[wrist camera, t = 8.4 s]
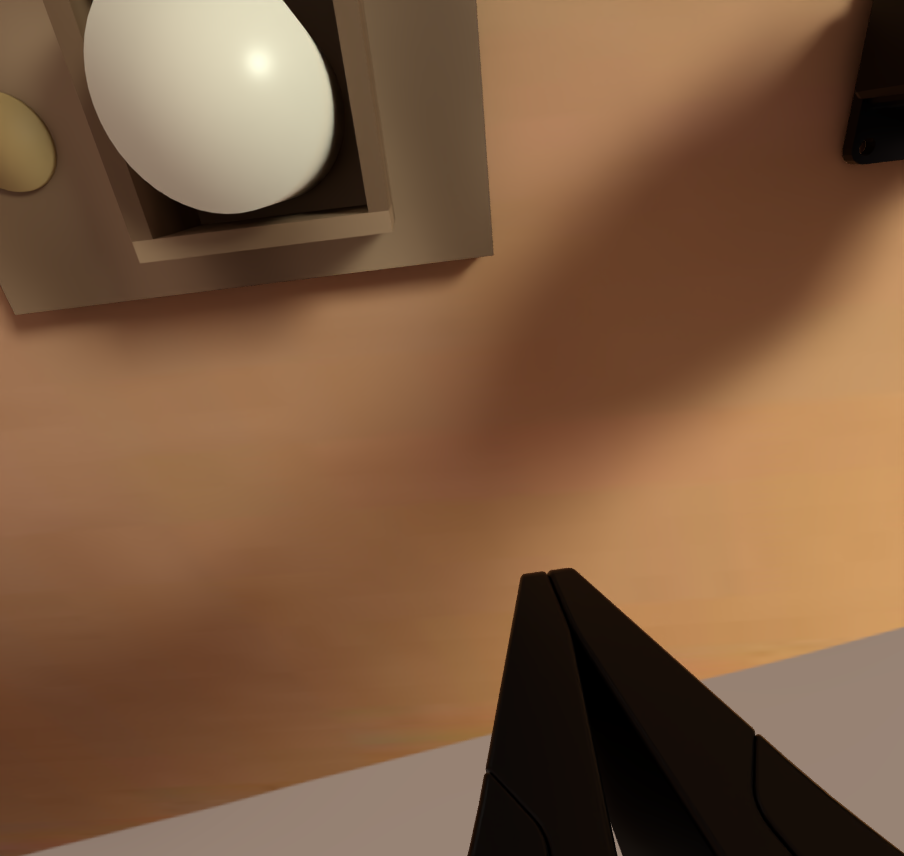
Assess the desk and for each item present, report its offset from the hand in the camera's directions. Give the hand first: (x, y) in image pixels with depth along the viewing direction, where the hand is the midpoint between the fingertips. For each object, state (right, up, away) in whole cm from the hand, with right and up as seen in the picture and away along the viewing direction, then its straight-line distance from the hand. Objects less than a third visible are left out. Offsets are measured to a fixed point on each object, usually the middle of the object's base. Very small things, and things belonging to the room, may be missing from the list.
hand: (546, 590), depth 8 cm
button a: (-7, +11, +5) cm, 14 cm away
